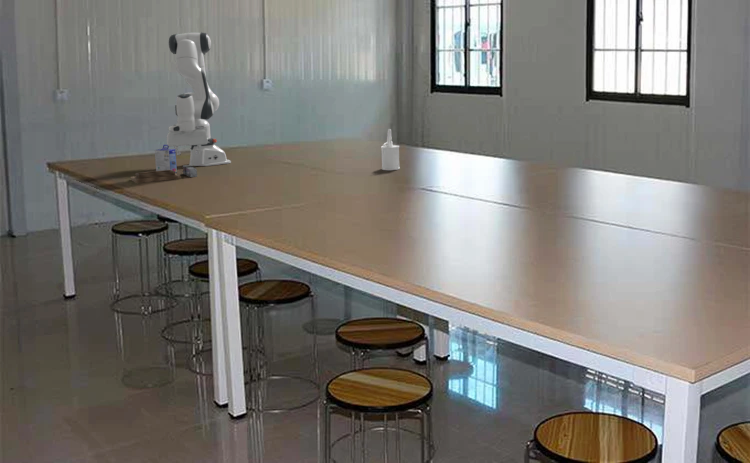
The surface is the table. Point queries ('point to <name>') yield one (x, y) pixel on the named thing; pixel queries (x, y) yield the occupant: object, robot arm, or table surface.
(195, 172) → the two-tone gray stick
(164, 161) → the ink cartridge box
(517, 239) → the table surface
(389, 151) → the white glue bottle
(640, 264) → the table surface
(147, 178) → the cradle
